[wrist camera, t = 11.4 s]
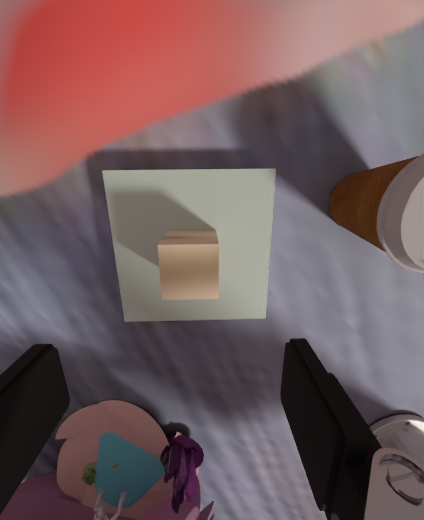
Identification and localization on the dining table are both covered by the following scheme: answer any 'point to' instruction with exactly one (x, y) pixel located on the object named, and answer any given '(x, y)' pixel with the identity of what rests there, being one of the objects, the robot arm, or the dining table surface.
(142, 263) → the sage stand
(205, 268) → the maple block
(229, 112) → the dining table surface
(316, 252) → the dining table surface
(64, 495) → the purple clam shell
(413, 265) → the disposable coffee cup
